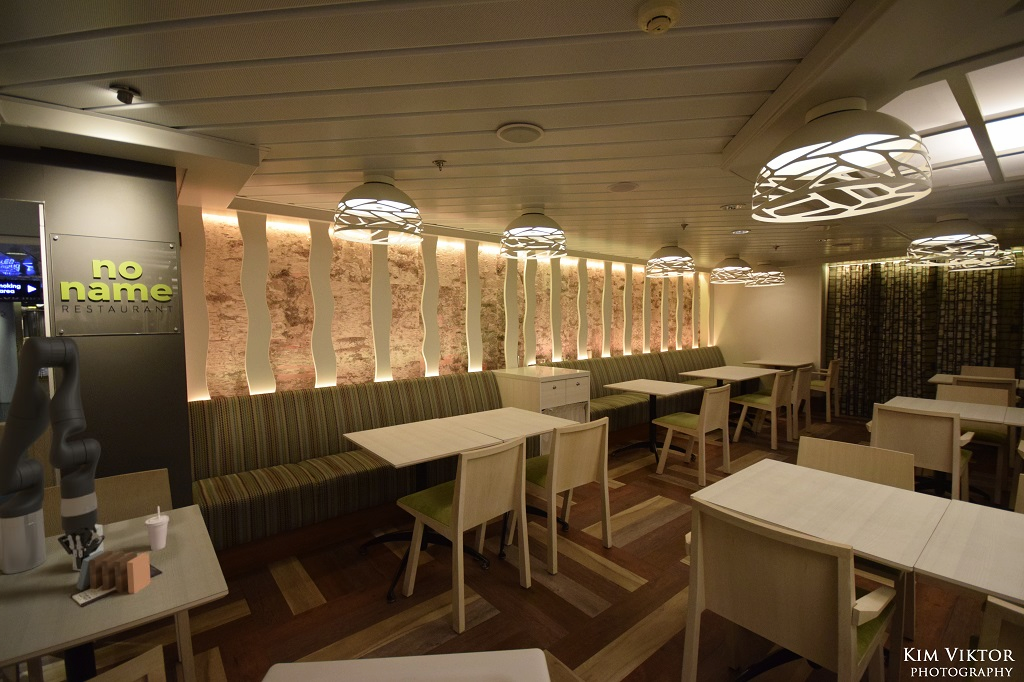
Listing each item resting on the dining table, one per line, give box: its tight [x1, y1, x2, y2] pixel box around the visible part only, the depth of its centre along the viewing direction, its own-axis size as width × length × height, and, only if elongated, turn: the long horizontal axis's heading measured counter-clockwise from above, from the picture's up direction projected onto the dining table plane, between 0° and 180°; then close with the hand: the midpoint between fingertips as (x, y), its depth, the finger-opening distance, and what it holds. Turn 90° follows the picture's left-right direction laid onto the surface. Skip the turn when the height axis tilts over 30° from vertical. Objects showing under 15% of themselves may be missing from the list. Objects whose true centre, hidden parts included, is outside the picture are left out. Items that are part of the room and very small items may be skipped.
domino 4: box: [114, 551, 138, 593], centre depth 128 cm, size 2×5×9 cm, turn 174°
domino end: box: [127, 552, 152, 595], centre depth 127 cm, size 2×5×9 cm, turn 175°
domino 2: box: [89, 550, 114, 589], centre depth 129 cm, size 2×5×9 cm, turn 175°
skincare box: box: [71, 523, 105, 572], centre depth 139 cm, size 6×4×12 cm
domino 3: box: [102, 550, 126, 590], centre depth 128 cm, size 2×5×9 cm, turn 175°
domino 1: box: [76, 550, 105, 591], centre depth 129 cm, size 2×5×9 cm, turn 174°
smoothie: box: [144, 505, 170, 551], centre depth 149 cm, size 6×6×14 cm
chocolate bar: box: [70, 564, 163, 608], centre depth 129 cm, size 9×1×18 cm
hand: (83, 567), depth 129 cm, fingers closed
